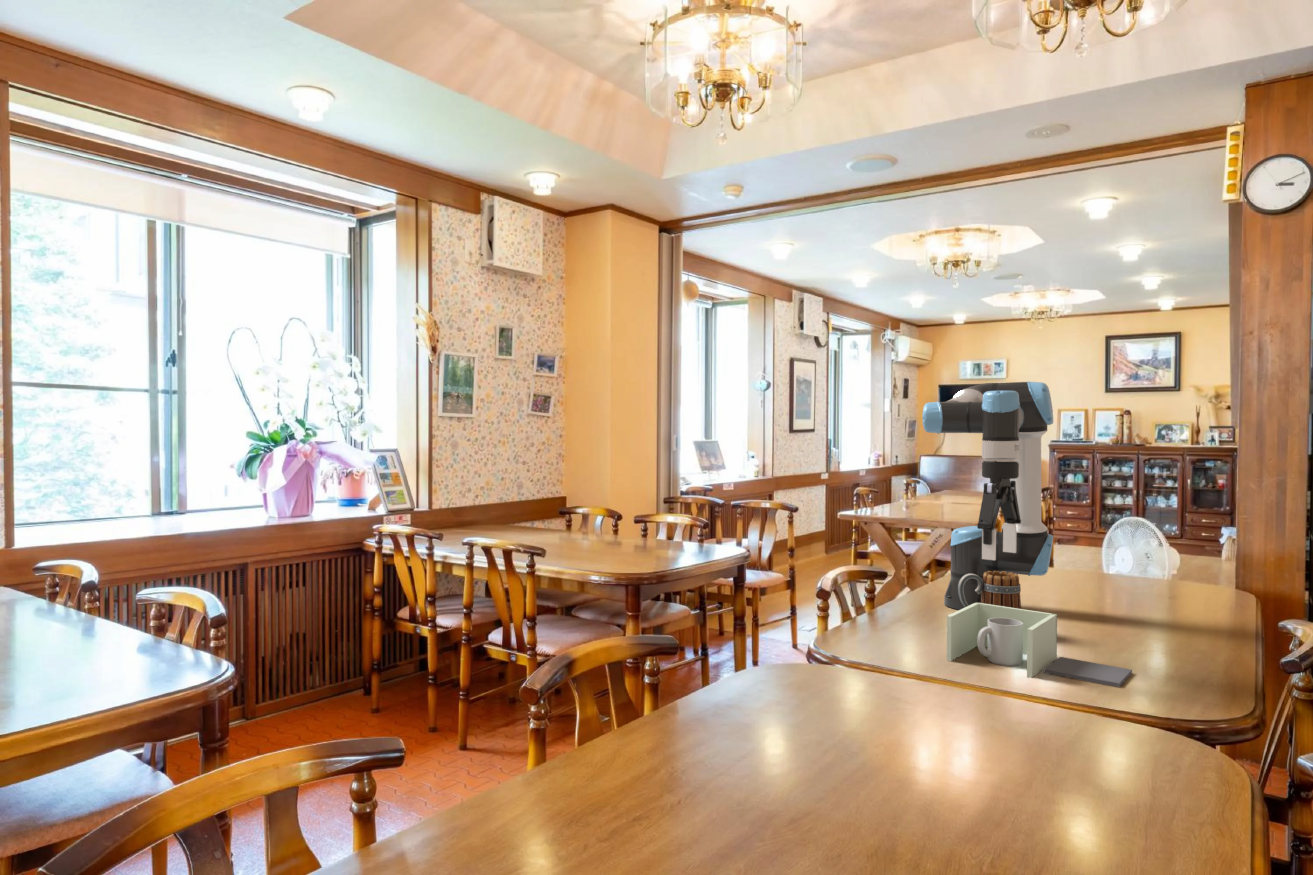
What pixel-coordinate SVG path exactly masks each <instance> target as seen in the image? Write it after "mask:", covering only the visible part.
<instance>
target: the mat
mask: <svg viewBox="0 0 1313 875" xmlns="http://www.w3.org/2000/svg"><path fill="white" fill-rule="evenodd" d="M1043 670H1044V672H1043V673H1044V674H1048V675H1053V676H1058V677H1059V676H1060V677H1064V678H1069V679H1074V680H1080V681H1085V682H1089V683H1095V684H1100V685H1104V686H1105V685H1106V686H1108V687H1109V686H1110V687H1115V688H1121V686H1122V685H1123V684H1124V683H1125V682H1126V681H1127V679H1128V678H1130V676H1131V675H1132V674H1133V669H1130V668H1124V667H1119V666H1114V665H1107V664H1102V663H1097V662H1093V661H1092V662H1091V661H1087V660H1080V659H1074V658H1069V657H1064V656H1059V657H1058V658H1057V659H1055V660H1054V661H1053V662H1051V663H1050V664H1049V665H1048V666H1046V667H1045V668H1044V669H1043Z"/></svg>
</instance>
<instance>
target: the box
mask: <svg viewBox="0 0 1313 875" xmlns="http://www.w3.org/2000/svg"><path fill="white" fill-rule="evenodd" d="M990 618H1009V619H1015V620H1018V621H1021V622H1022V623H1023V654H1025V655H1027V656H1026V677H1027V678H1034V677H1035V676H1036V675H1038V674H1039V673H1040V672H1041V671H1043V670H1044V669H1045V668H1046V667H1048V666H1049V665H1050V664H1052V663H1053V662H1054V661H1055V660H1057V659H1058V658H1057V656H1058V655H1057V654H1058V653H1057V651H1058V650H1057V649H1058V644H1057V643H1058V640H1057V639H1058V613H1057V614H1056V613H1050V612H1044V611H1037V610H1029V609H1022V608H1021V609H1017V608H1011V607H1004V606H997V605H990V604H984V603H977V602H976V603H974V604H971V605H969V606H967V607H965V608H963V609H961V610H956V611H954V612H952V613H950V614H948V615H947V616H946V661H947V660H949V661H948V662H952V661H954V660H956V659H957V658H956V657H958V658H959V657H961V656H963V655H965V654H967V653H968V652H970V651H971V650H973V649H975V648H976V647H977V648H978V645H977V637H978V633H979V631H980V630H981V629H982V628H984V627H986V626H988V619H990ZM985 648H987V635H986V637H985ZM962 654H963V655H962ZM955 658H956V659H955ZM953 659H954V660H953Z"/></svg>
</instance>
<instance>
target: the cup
mask: <svg viewBox="0 0 1313 875" xmlns="http://www.w3.org/2000/svg"><path fill="white" fill-rule="evenodd" d="M986 635H987V647H985V637H986ZM977 645H978V646H977V649H978V650H979V653H980V654H981V655H982V656H984V657H987V660H988V662H990V663H993V664H995V665H999V666H1005V667H1016V666H1020V665H1022V663H1023V660H1024V659H1023V658H1024V656H1023V623H1022V622H1021V621H1018V620H1015V619H1009V618H990V619H988V626H986V627H984V628H982V629H981V630H980V631H979V633H978V637H977Z"/></svg>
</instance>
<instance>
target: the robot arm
mask: <svg viewBox="0 0 1313 875" xmlns="http://www.w3.org/2000/svg"><path fill="white" fill-rule="evenodd" d="M1049 388H1050V387H1049V386H1048V385H1047V384H1046V383H1045V382H1041V381H1040V382H1039V381H1017V382H1016V381H1014V382H1012V381H1011V382H1010V381H1009V382H985V383H981V384H976V385H973V386H969V387H966V388H964V389H962V390H960V391H958V392H957V393H955V394H954V395H953V397H952V398H951V399H949V400H946V401H934V402H932V401H931V402H930V401H929V402H927V403H925V404H924V405H923V409H922V427H923V430H924V431H925V432H926V433H932V434H982V439H981V440H982V441H981V458H982V459H984V460H983V461H982V462H981V477H983V478H985V479H989V480H990V481H989V483H988V482H984V483H983V494H982V499H981V500H982V501H981V504H980V510H979V516H978V521H977V525H971V526H970V525H969V526H962V527H957V528H955V529H953V531H952V532H951V536H950V537H951V538H950V539H951V540H950V544H949V546H950V580H949V582H948V584H947V585H948V586H947V588H946V591H945V594H944V598H943V604H944V605H945V607H948V608H950V609H954V610H957V611H959V610H961V609H963V608H965V607H964V606H963V604H962V603H961V601H960V598H959V593H958V584H959V581H960V579H961V578H962V577H963V576H964V575H966V574H975V575H977V576H979V577H980V578H981V579H982V580H983V574H984V572H987V571H992V572H993V571H999V572H1000V573H1001V571H1004V572H1007V573H1009V572H1011V573H1014V574H1018V575H1022V576H1023V575H1024V576H1029V577H1031V576H1038V577H1039V576H1040V577H1042V576H1045V575H1046V574H1047V573H1048V572H1049V567H1050V562H1051V555H1052V550H1053V545H1054V543H1053V542H1054V536H1053V535H1052V534H1050V533H1048V527H1047V526H1046V525H1045V524H1044V523H1043V522H1042V438H1043V436H1044V435H1045V434H1046V433H1047V432H1048V426H1051V425H1053V424H1054V412H1053V411H1054V410H1053V402H1052V398H1051V397H1052V396H1051V391H1050V389H1049ZM1000 509H1001V513H1002V517H1003V519H1004V522H1003V524H1002V526H1001V531H997V529H995V528H996V527H995V526H996V523H997V520H998V516H999V513H1000ZM977 587H978V581H977V580H976V579H968V580H967V581H966V583H965V584H964V596H965V600H966V602H967V604H968V605H971V604H974V603H976V602H977V603H981V596H982V592H981V593H980V594H978V593H977V592H976V591H975V590H976V589H977Z"/></svg>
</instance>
